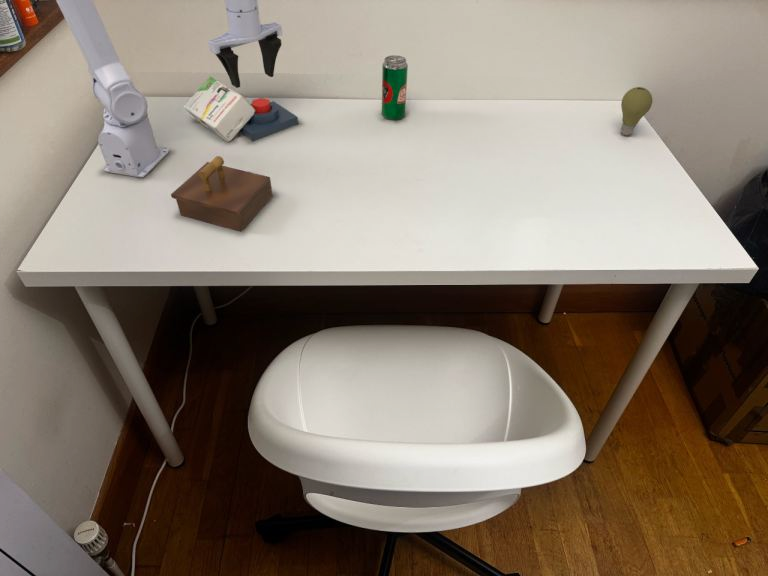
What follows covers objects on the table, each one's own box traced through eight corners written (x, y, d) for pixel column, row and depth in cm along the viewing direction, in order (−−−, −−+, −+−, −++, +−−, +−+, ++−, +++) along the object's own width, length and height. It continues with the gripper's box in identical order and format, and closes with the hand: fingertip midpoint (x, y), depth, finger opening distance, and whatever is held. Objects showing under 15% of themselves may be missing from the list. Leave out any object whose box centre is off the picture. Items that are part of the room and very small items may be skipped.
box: (252, 141, 112) (249, 125, 109) (229, 124, 117) (226, 108, 114) (298, 124, 117) (296, 108, 115) (274, 108, 122) (272, 92, 119)
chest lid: (171, 197, 92) (164, 173, 89) (208, 165, 99) (202, 141, 96) (237, 215, 89) (232, 191, 86) (270, 180, 96) (267, 156, 93)
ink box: (209, 74, 114) (242, 94, 108) (224, 91, 118) (257, 111, 112) (182, 106, 113) (214, 128, 107) (198, 121, 117) (229, 143, 111)
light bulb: (616, 141, 114) (632, 94, 107) (607, 128, 118) (622, 81, 111) (643, 141, 114) (661, 94, 107) (633, 128, 118) (650, 82, 111)
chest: (180, 215, 94) (175, 199, 92) (215, 182, 101) (212, 166, 99) (241, 231, 92) (237, 215, 89) (272, 196, 99) (270, 180, 96)
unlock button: (259, 116, 113) (257, 108, 112) (249, 109, 115) (248, 101, 113) (274, 110, 114) (273, 102, 113) (264, 104, 116) (263, 96, 115)
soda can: (401, 122, 118) (404, 66, 110) (378, 119, 119) (379, 62, 111) (407, 111, 122) (410, 56, 113) (385, 108, 123) (386, 52, 114)
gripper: (264, -7, 107) (272, 64, 117) (194, 9, 100) (209, 83, 110) (285, 3, 104) (292, 75, 113) (214, 21, 97) (228, 96, 106)
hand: (252, 80), depth 111 cm, fingers open, 7 cm apart
